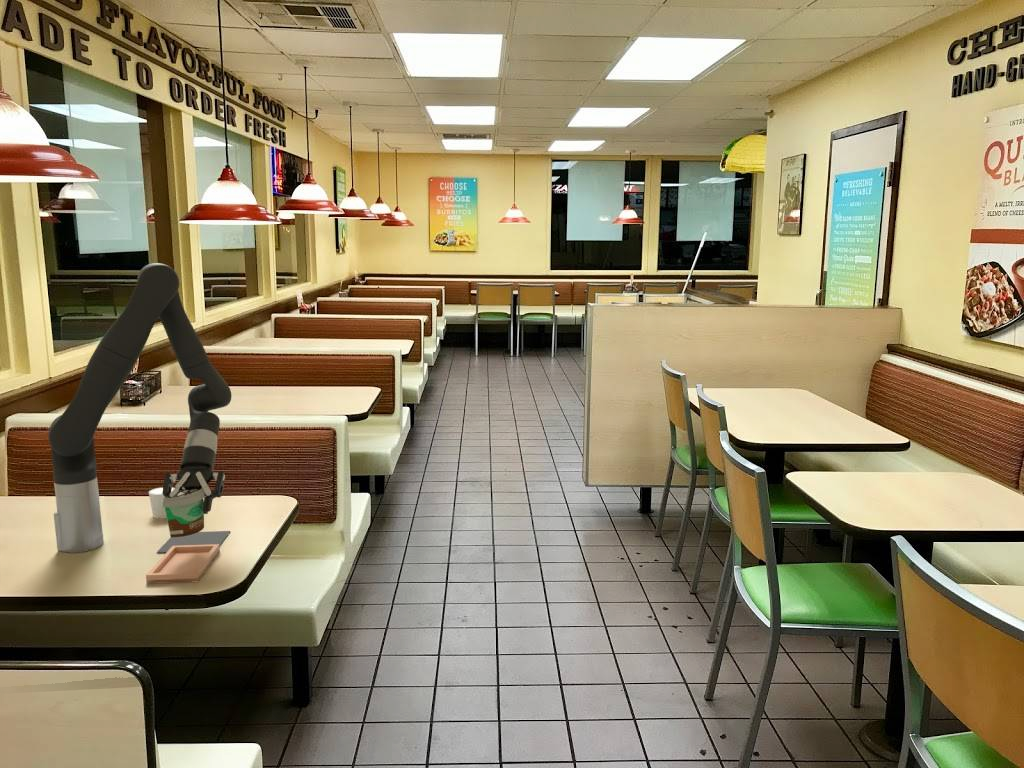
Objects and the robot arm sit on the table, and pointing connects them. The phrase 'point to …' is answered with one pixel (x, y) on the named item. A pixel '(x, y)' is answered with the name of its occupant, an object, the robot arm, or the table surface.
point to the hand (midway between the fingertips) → (188, 513)
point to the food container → (185, 512)
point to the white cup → (157, 502)
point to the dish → (183, 564)
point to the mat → (195, 540)
